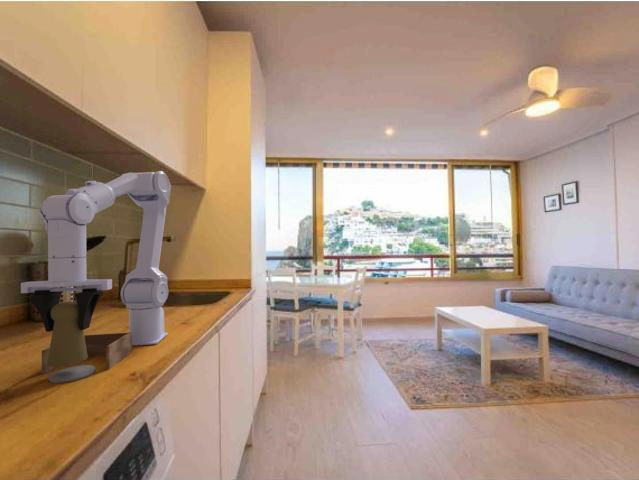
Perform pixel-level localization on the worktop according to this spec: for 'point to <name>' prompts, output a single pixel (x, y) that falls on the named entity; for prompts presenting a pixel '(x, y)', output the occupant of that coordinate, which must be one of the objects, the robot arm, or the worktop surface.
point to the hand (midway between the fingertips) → (68, 329)
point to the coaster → (71, 374)
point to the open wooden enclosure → (101, 348)
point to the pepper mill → (66, 336)
